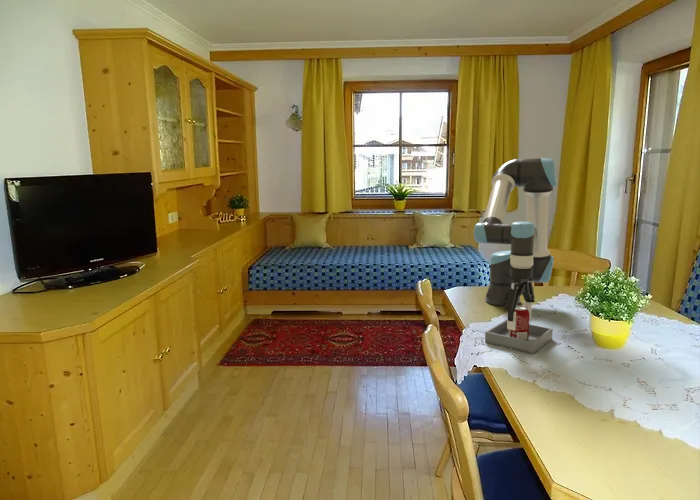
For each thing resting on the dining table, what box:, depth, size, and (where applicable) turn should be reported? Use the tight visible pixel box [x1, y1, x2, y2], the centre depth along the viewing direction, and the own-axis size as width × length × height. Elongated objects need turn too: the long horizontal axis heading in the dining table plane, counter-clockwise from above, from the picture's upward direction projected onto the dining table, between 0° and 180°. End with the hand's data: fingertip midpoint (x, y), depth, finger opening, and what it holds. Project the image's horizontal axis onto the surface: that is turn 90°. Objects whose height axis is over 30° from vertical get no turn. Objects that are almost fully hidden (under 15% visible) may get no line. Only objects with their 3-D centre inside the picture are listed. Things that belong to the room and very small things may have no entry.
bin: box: [484, 319, 554, 355], centre depth 174 cm, size 17×17×4 cm
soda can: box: [509, 304, 530, 340], centre depth 173 cm, size 7×7×12 cm
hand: (519, 324), depth 174 cm, fingers open, 13 cm apart
